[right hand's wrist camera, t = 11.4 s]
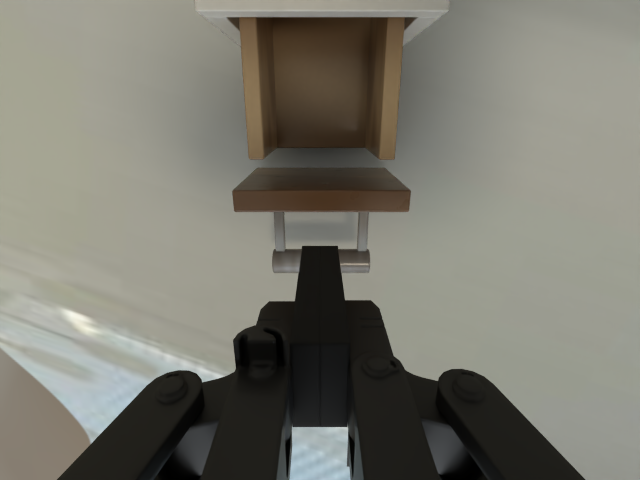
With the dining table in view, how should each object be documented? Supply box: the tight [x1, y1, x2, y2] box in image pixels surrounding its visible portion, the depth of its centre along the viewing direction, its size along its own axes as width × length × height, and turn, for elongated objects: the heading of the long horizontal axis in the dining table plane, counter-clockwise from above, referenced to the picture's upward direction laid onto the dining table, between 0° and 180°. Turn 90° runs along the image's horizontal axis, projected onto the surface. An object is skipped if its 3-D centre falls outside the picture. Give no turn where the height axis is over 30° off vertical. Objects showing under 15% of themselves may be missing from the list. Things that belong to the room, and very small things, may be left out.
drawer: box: [232, 17, 411, 273], centre depth 20 cm, size 21×9×8 cm, turn 0°
